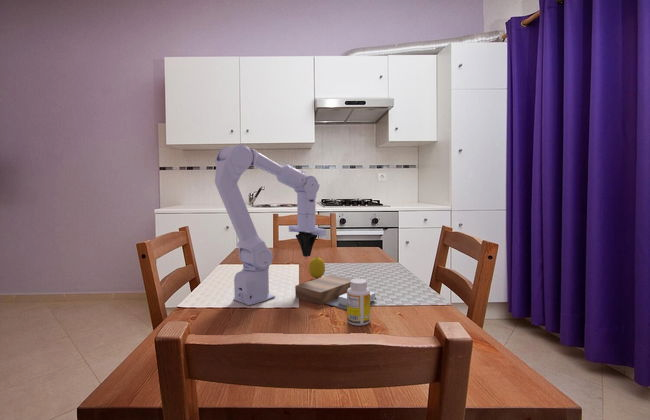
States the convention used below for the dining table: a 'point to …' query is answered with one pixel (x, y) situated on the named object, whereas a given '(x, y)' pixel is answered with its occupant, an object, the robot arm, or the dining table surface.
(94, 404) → the dining table surface
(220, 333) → the dining table surface
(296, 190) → the robot arm
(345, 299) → the light grey block
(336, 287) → the block
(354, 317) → the supplement bottle
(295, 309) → the dining table surface
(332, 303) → the mat
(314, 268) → the lemon
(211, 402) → the dining table surface
